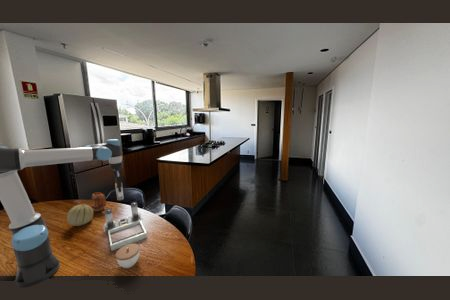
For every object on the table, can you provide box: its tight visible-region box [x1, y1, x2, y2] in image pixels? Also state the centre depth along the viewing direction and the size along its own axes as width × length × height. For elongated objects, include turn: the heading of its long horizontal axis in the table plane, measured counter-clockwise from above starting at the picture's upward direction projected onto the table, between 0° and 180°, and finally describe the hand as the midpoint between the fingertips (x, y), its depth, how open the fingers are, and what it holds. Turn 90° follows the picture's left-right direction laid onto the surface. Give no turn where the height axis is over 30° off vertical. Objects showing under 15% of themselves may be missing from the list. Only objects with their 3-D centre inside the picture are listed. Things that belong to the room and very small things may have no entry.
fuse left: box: [104, 208, 114, 228], centre depth 124 cm, size 4×4×12 cm
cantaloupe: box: [66, 203, 94, 227], centre depth 129 cm, size 15×15×15 cm
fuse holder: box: [102, 212, 144, 233], centre depth 130 cm, size 10×24×4 cm, turn 127°
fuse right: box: [130, 201, 139, 220], centre depth 134 cm, size 4×4×12 cm
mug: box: [90, 192, 107, 212], centre depth 148 cm, size 15×8×15 cm, turn 62°
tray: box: [107, 220, 148, 252], centre depth 117 cm, size 18×20×4 cm
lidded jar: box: [115, 243, 140, 269], centre depth 95 cm, size 11×11×9 cm
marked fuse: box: [114, 181, 125, 202], centre depth 126 cm, size 4×4×12 cm
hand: (119, 194), depth 126 cm, fingers closed on marked fuse, 4 cm apart
